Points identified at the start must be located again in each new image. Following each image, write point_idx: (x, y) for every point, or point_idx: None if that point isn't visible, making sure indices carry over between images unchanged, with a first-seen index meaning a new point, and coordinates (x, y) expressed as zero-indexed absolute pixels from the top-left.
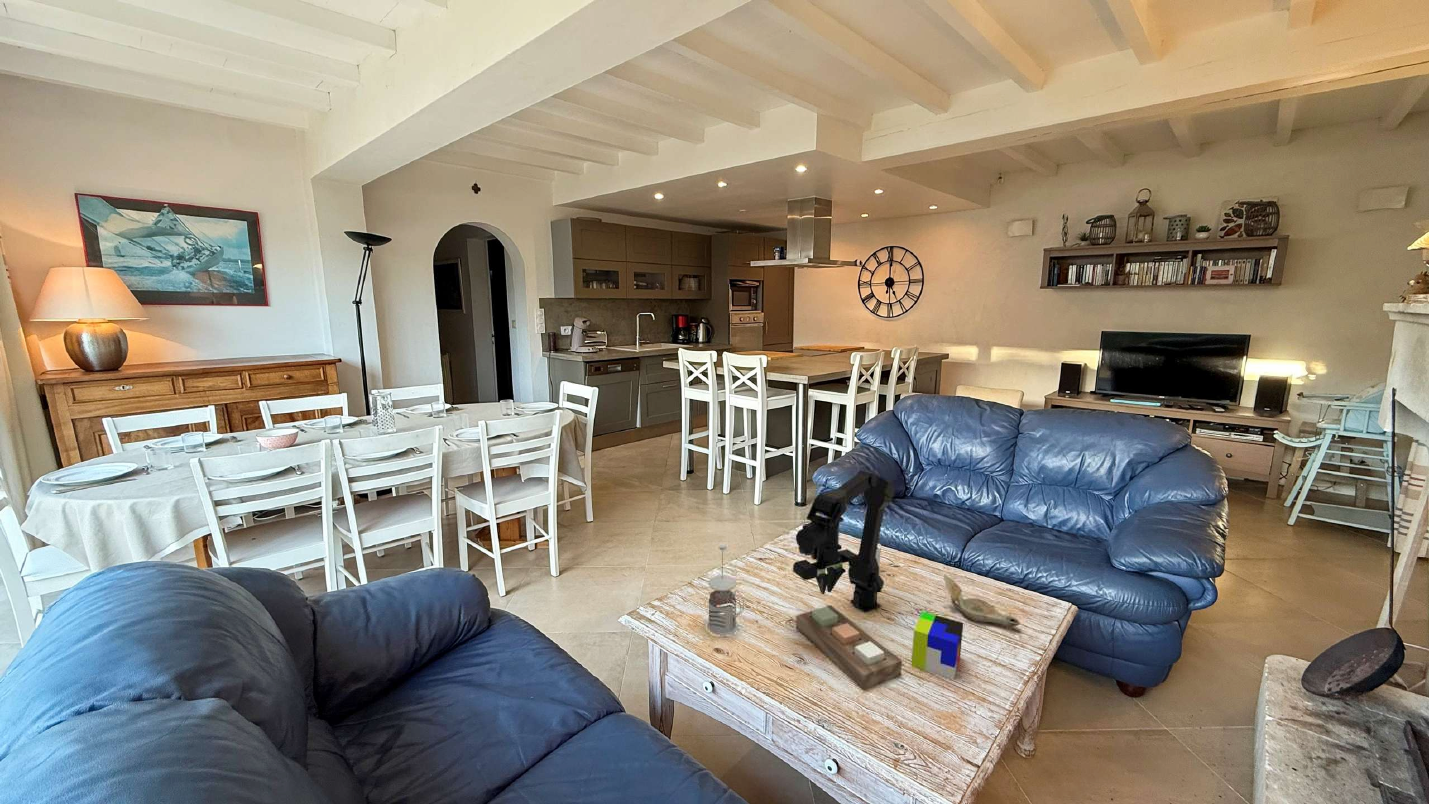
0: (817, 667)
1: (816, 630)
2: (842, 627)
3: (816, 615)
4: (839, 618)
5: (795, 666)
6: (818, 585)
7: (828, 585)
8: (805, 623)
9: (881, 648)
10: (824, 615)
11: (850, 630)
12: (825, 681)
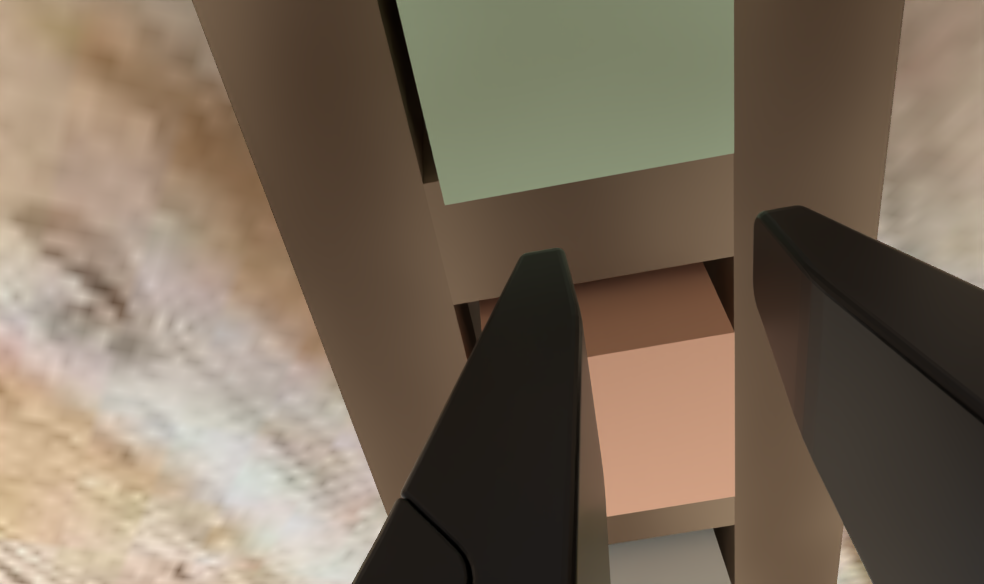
0: (227, 410)
1: (314, 219)
2: (615, 388)
3: (406, 32)
4: (785, 43)
5: (25, 368)
6: (452, 397)
7: (830, 380)
8: (203, 30)
9: (801, 559)
10: (528, 99)
11: (668, 450)
12: (240, 527)
